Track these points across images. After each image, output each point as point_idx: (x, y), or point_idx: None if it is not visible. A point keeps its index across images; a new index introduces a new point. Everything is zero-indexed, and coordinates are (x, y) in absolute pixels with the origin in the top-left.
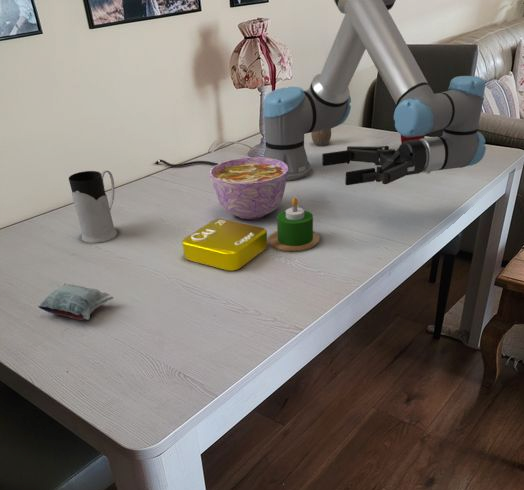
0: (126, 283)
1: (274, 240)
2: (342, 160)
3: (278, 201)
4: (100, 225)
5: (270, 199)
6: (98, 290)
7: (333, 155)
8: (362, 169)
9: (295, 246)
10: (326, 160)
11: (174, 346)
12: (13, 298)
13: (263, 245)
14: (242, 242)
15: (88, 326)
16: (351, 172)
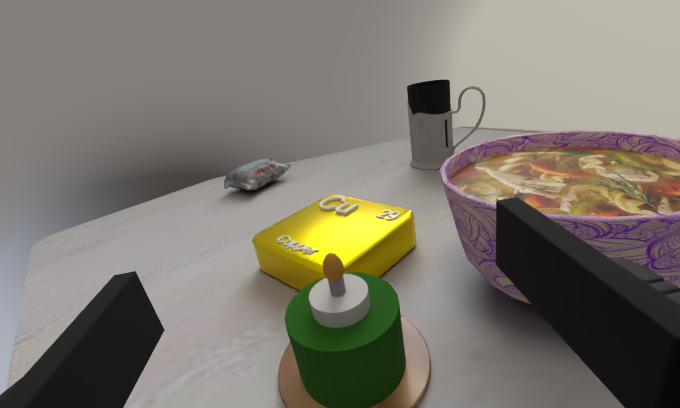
0: (294, 196)
1: None
2: (593, 347)
3: None
4: (413, 147)
5: (485, 256)
6: (252, 176)
7: (536, 248)
8: (62, 359)
9: None
10: (507, 246)
11: (138, 238)
12: (306, 160)
13: None
14: (284, 243)
15: (227, 194)
16: (98, 293)
